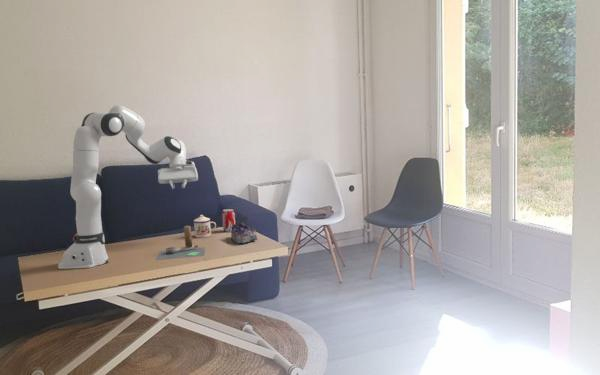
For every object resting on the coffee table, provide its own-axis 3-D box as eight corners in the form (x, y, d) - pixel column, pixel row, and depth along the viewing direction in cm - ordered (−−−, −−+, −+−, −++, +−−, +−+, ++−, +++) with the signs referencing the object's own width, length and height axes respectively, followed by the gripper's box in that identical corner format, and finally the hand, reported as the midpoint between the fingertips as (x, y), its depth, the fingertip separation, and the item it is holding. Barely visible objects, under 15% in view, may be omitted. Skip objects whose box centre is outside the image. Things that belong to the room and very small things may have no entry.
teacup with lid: (196, 238, 310) (194, 217, 308) (193, 235, 318) (191, 214, 317) (218, 235, 314) (216, 214, 312) (215, 232, 322) (213, 212, 321)
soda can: (233, 232, 320) (232, 211, 319) (221, 232, 322) (219, 211, 320) (237, 229, 327) (236, 208, 325) (225, 229, 329) (224, 208, 327)
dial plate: (155, 263, 264) (155, 259, 264) (159, 254, 281) (159, 250, 280) (204, 258, 266) (204, 255, 266) (205, 250, 283) (205, 246, 283)
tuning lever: (167, 254, 272) (165, 230, 270) (165, 252, 276) (162, 229, 274) (198, 249, 279) (196, 225, 277) (195, 247, 282) (193, 224, 281)
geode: (223, 239, 306) (224, 220, 305) (243, 238, 311) (244, 220, 311) (237, 244, 288) (238, 224, 287) (259, 244, 293) (259, 224, 293)
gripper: (157, 164, 300) (156, 185, 292) (196, 161, 302) (197, 182, 294) (158, 172, 305) (158, 193, 297) (198, 169, 307) (198, 190, 299)
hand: (178, 187), depth 295 cm, fingers open, 4 cm apart
